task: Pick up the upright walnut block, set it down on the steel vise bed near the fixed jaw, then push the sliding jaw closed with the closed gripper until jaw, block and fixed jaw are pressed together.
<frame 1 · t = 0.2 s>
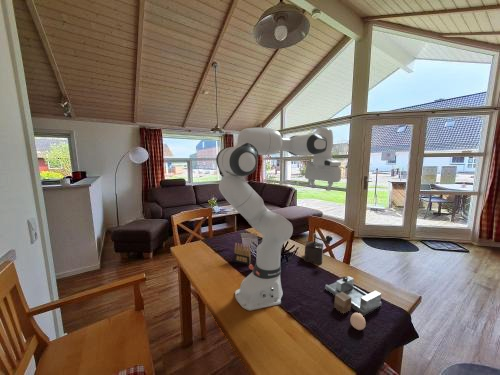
hand: (320, 189, 107), 47 cm above the table, fingers open, 8 cm apart
egg: (357, 328, 79), on the table
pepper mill: (317, 260, 131), on the table
block: (342, 309, 89), on the table
free jaw: (344, 283, 99), point 5 cm above the table, slide at 0.0 cm
vise: (351, 297, 96), on the table
ammunition clip: (242, 262, 127), on the table
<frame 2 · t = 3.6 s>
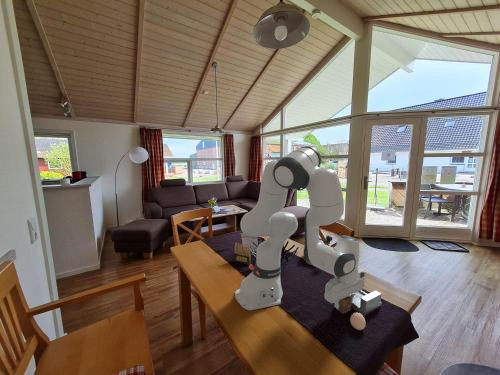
hand: (343, 304, 88), 2 cm above the table, fingers open, 6 cm apart
nothing on the table moved.
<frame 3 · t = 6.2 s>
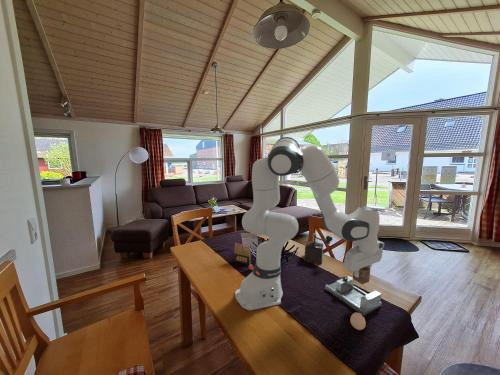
hand: (361, 274, 91), 14 cm above the table, fingers closed on block, 4 cm apart
block: (360, 280, 91), point 11 cm above the table, touching gripper
everything else where it was.
when the fingers open (5 cm above the table, at t = 8.2 s): block stays where it is, resting on vise.
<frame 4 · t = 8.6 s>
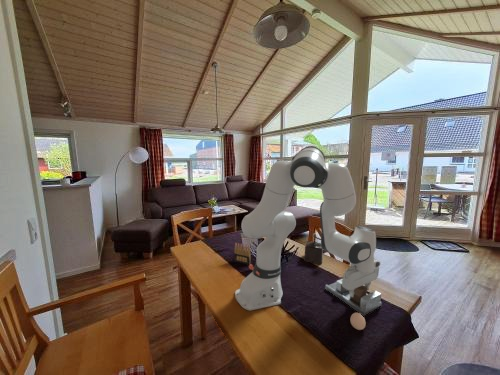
hand: (359, 292, 93), 5 cm above the table, fingers open, 8 cm apart
block: (358, 298, 93), point 1 cm above the table, touching vise
everything else where it was.
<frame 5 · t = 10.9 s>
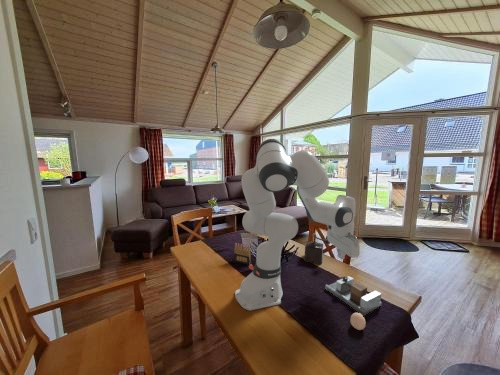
hand: (340, 258, 99), 17 cm above the table, fingers closed
nothing on the table moved.
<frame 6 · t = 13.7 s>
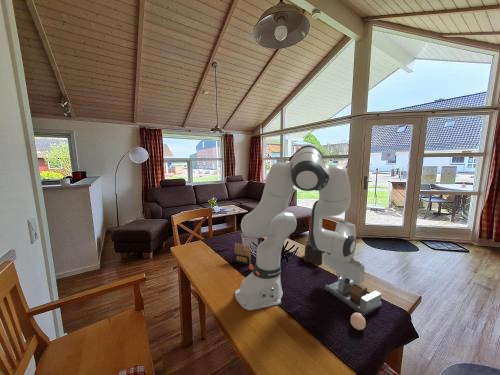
hand: (341, 281, 101), 5 cm above the table, fingers closed
free jaw: (347, 285, 98), point 5 cm above the table, slide at 1.3 cm, touching gripper
everything else where it was.
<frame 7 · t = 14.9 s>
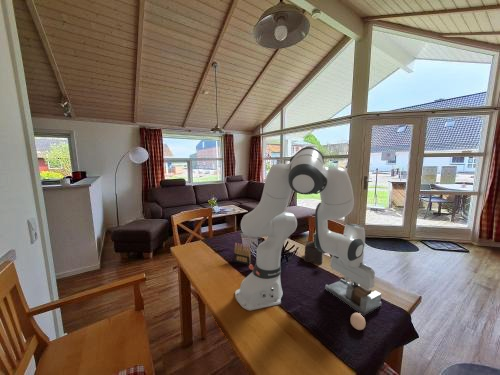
hand: (349, 286, 97), 5 cm above the table, fingers closed
block: (361, 301, 92), point 1 cm above the table, touching free jaw, vise
free jaw: (355, 290, 94), point 5 cm above the table, slide at 5.4 cm, touching block, gripper
everything else where it was.
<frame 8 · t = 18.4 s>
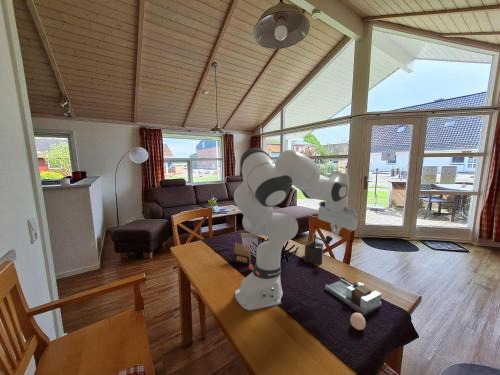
hand: (335, 233, 102), 27 cm above the table, fingers closed
free jaw: (355, 290, 94), point 5 cm above the table, slide at 5.4 cm, touching block
everything else where it was.
at the end: block 0.2 cm from the target spot on the vise, point 1.5 cm above the vise's base; block tilted 0°; free jaw slide at 5.4 cm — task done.
